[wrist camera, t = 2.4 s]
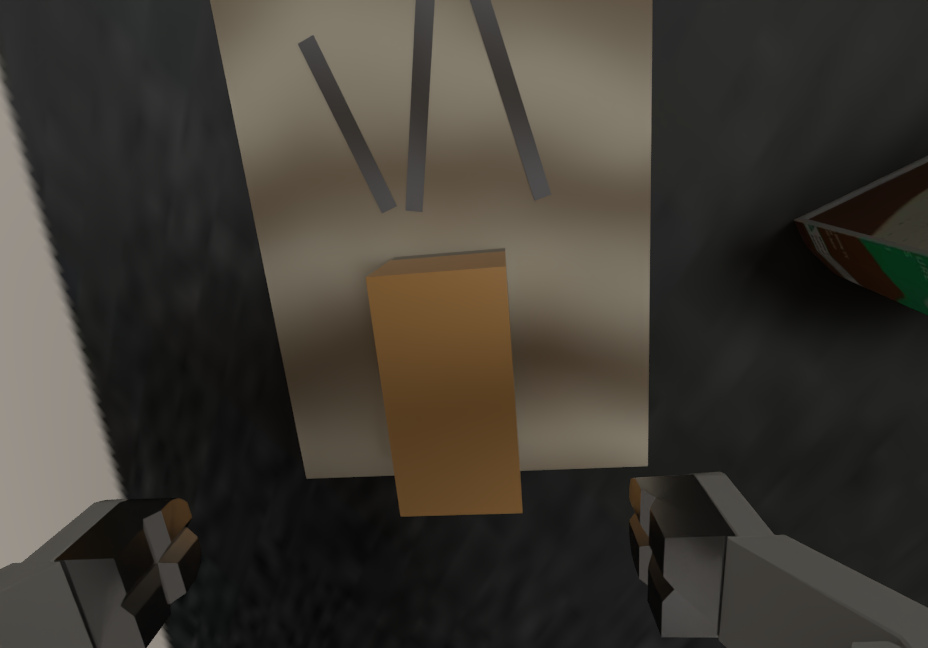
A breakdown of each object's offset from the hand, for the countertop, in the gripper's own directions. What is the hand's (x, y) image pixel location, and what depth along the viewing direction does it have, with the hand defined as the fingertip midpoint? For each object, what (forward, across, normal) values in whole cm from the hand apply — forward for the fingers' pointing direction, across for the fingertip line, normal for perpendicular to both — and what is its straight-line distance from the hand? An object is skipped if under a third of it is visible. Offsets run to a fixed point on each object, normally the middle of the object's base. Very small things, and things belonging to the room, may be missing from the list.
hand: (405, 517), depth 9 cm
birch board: (+12, 0, -5) cm, 13 cm away
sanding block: (+10, 0, +1) cm, 10 cm away
